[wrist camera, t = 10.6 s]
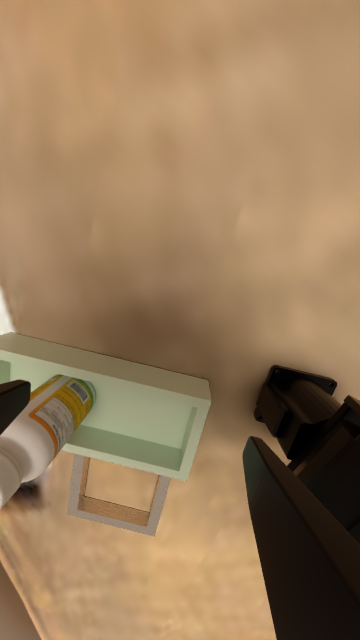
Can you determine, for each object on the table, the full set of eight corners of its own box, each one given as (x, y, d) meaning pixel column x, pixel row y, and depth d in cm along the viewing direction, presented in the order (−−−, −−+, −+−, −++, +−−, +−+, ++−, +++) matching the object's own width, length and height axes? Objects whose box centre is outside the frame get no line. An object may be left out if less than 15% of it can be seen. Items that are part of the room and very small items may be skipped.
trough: (208, 380, 20) (211, 401, 17) (187, 450, 22) (186, 481, 19) (10, 332, 20) (-26, 343, 17) (9, 406, 23) (-24, 429, 19)
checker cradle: (175, 454, 23) (173, 466, 21) (156, 521, 25) (154, 536, 24) (83, 431, 23) (75, 442, 21) (74, 500, 25) (67, 514, 24)
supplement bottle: (47, 408, 21) (-72, 515, 12) (50, 365, 20) (-81, 445, 10) (94, 419, 21) (13, 536, 11) (99, 376, 20) (13, 468, 10)
